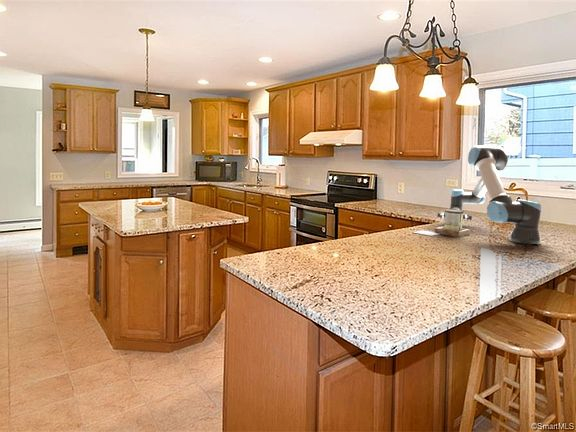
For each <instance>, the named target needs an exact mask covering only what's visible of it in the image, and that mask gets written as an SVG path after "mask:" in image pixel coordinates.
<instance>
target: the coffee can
mask: <svg viewBox="0 0 576 432" xmlns="http://www.w3.org/2000/svg"><path fill="white" fill-rule="evenodd" d="M444 212H445V217H444V221H443V223H444V224H443V227H444V229H447V230H453V231H462V228H463V220H464V219H463V215H464V210H462V211H461V210H452V209H450V208H449V209H445V210H444Z"/></svg>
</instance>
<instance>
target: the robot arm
mask: <svg viewBox="0 0 576 432" xmlns="http://www.w3.org/2000/svg"><path fill="white" fill-rule="evenodd" d="M508 161H509V157H508V153H507V151H506V150H505V149H504V148H503V147H501V146H498V145H496V146H495V145H473V146H472V147H471V148H470V150H469V152H468V156H467V162H468V164H469V165H471V166H473V167H474V168H475V170H476V171H478V172H479V173H480V176H481V177H480V179H479V180H478V182H477V184H476V185H475V187H474V188H473V190H472V192H465V191H464V189H457V188H456V189H452V191H451V196H450V206H449V209H452V210H461V211H463V205H464V204H465V205H466V204H469V205H482V204H484V203H485V201H486V195H485V194H486V193H487V195H488V197H489V201H488V203H487V207H486V210H487V211H486V213H487V217H488V218H489V220H490V221H492V222H493V223H498V224H505V223H506V224H507V223H509V224H514V227H513V229H512V231H511V232H510V235H509V238H508V239H509V241H510V242H513V243H517V244H524V245H532V244H537V245H540V244H541V235H540V230H539V226H540V220H541V212H542V203H540V202H536V201H531V200H525V199H520V198H519V199H517V201H513V200H512V197H511V196H510V195H509V194H507V193H506V190H505V187H504V185H503V183H502V181H501V178H500V176H499V174H500V172H502V171H504V169H506V166H507V164H508ZM437 218H440V219H441V220H443V219H444V218H445V211H442V212H437ZM472 218H473V216H472V215H470V214H467V213H463V220H464V222H467V221H468V220H469V221H472Z"/></svg>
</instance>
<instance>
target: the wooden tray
mask: <svg viewBox="0 0 576 432" xmlns="http://www.w3.org/2000/svg"><path fill="white" fill-rule="evenodd" d="M470 231H471V230H470V229H468V228H463V227H462V231H453V230H447V229H444V226H439V227H435V231H434V232H435V233H441V234H440V235H445V236H450V237H455V238H456V237H457V238H460V237H465V236H469V235H470Z"/></svg>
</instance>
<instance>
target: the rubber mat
mask: <svg viewBox="0 0 576 432" xmlns="http://www.w3.org/2000/svg"><path fill="white" fill-rule="evenodd" d="M412 234H415V235H421V236H428V237H435V236H440V235H442V234H441V233H435V231H434V232H433V231H428V230H418V231H412Z"/></svg>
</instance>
